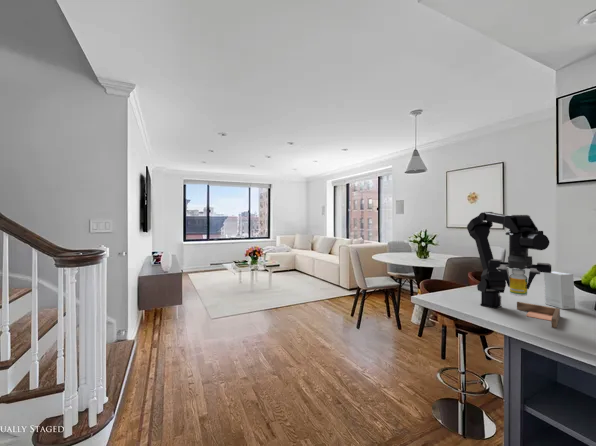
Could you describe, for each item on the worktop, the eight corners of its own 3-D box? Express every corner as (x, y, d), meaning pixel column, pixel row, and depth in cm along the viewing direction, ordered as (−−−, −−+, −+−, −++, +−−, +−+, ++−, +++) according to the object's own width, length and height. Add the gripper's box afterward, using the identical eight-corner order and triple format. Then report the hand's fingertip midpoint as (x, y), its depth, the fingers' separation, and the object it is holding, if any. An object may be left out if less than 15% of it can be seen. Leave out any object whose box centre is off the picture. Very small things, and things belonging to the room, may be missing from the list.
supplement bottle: (508, 292, 110) (508, 267, 110) (526, 293, 107) (526, 269, 107) (510, 295, 105) (510, 270, 105) (528, 297, 102) (528, 271, 102)
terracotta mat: (526, 316, 109) (526, 315, 109) (529, 311, 114) (529, 310, 114) (553, 321, 103) (553, 320, 103) (555, 316, 108) (555, 315, 108)
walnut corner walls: (509, 318, 106) (509, 310, 106) (517, 308, 118) (517, 301, 118) (556, 328, 97) (556, 319, 97) (559, 316, 108) (559, 308, 108)
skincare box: (575, 309, 117) (575, 274, 117) (561, 309, 116) (562, 274, 116) (556, 303, 125) (556, 270, 125) (543, 303, 125) (543, 270, 125)
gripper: (485, 247, 106) (485, 287, 107) (551, 251, 94) (551, 296, 94) (490, 245, 115) (490, 282, 115) (551, 248, 102) (551, 290, 102)
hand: (518, 287), depth 106 cm, fingers closed on supplement bottle, 5 cm apart
